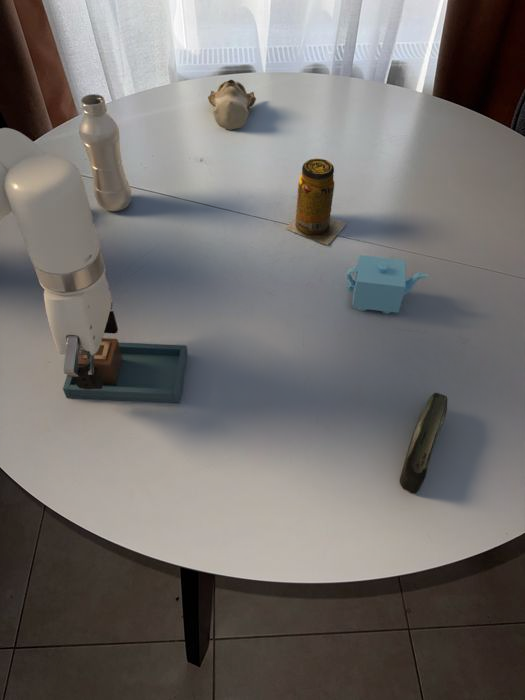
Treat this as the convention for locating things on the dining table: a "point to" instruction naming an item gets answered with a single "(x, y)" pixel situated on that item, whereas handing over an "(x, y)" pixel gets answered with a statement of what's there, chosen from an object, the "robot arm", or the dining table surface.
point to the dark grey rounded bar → (423, 443)
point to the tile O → (106, 361)
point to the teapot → (380, 283)
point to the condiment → (316, 203)
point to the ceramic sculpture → (231, 104)
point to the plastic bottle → (104, 154)
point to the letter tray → (141, 375)
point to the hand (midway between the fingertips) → (99, 358)
